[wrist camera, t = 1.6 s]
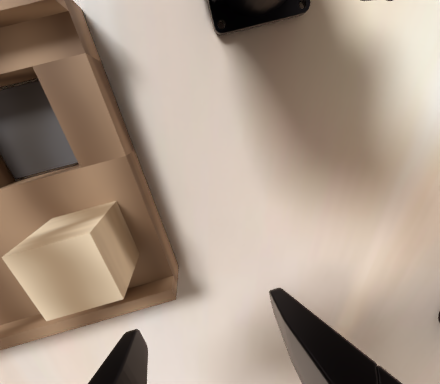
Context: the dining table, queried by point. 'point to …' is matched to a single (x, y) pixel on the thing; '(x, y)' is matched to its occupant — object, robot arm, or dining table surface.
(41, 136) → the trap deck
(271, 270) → the dining table surface
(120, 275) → the maple block
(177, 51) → the dining table surface
